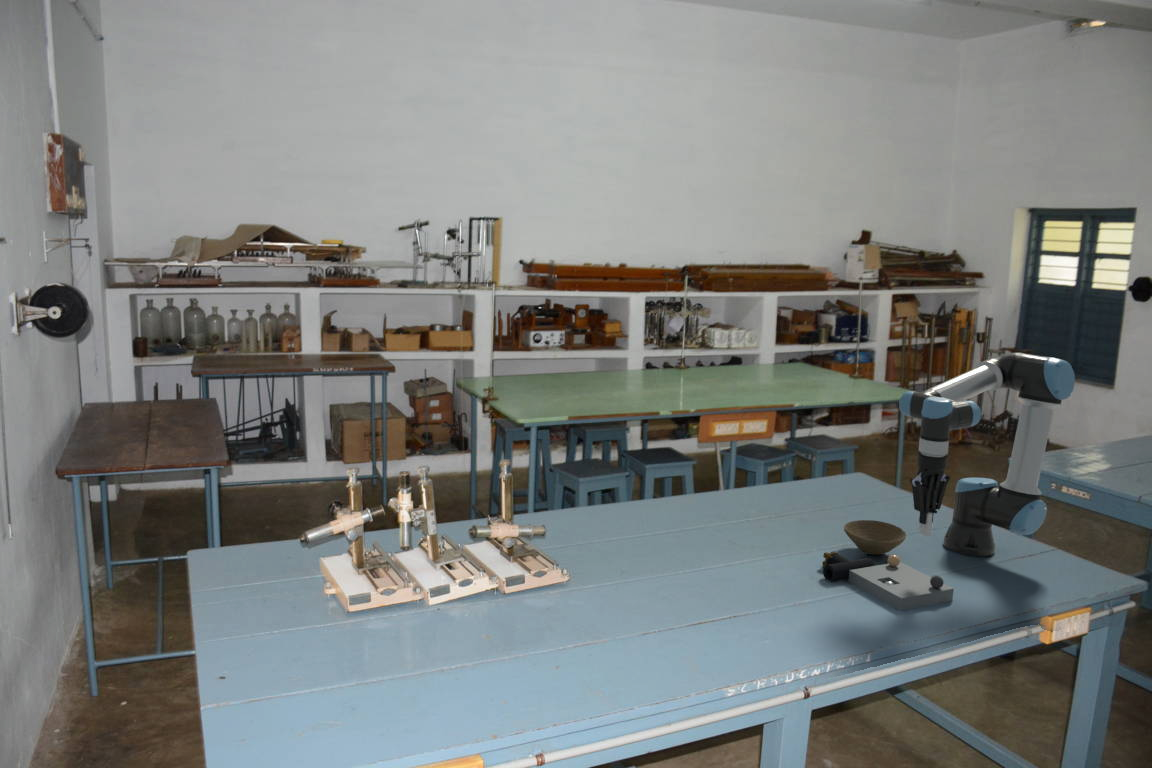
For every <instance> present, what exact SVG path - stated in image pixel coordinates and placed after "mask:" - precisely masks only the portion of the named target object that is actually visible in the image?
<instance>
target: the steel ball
mask: <svg viewBox="0 0 1152 768" xmlns="http://www.w3.org/2000/svg"><path fill="white" fill-rule="evenodd" d="M884 584H886V585H888V586H889V585H894V583H893V582H891V581H886V582H884Z"/></svg>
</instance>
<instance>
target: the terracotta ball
mask: <svg viewBox="0 0 1152 768" xmlns="http://www.w3.org/2000/svg"><path fill="white" fill-rule="evenodd" d="M900 562H901V560H900V557H899V556H897V555H896V554H891V555H889V556H888V557H887V564H889V565H890V566H892V567H896V566H898V565H899V563H900Z"/></svg>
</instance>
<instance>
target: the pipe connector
mask: <svg viewBox="0 0 1152 768" xmlns="http://www.w3.org/2000/svg"><path fill="white" fill-rule="evenodd" d="M823 558H824V559H825V560H822V565H821V566H823V569H822V571H823V572H822V573H823V577H824V579H825V580H826V581H828V582H830V583H835V582H842V581H846V580H847V581H848V580H849V570H853V569H859V568H865V567H871V566H876V564H875V563H874V561H873V559H871V558H870V557H869V558H861V559H854V560H849V559H848V558H846V557H844V556H842V554H840V553H838V552H836V551H830V553H829V552H828V551H827V552H823Z"/></svg>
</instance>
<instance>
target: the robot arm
mask: <svg viewBox="0 0 1152 768" xmlns="http://www.w3.org/2000/svg"><path fill="white" fill-rule="evenodd" d="M1075 377H1076V376H1075V371H1074V369H1073V368H1072V365H1071V364H1070V363H1069V362H1068V361H1067V360H1064V359H1061V358H1058V357H1057V358H1056V357H1054V356H1053V357H1051V356H1044V355H1043V356H1042V355H1037V354H1031V353H1024V352H1009V353H1004V354H1000V355H997V356H996V355H995V356H993V357H991V358H988V359H985V360H982V361H980V362H978V363H977V364H976V366H975V368H972V369H970V370H968V371H966V372H964V373H961V374H959V375H957V376H955V377H953V378H950V379H948V380H946V381H944V382H941V383H939V384H936V385H934V386H932V387H930V388H928V389H925V390H923V391H921V392H918V391H916V390H914V391H912V390H908V391H905V392H904V393H903V394H902V395H901V396H900V398H899V402H898V409H899V412H900V413H901V414H902V415H903V416H906V417H910V418H911V419H915V420H916V419H917V420H920V433H919V441H918V443H919V444H918V451H919V452H918V453H917V461H916V465H917V466H918V471H917V475H916V477H915V478H910V479H909V483H910V484H911V488H912V498H913V509H914V510H915V511H918V512H919V517H918V518H919V519H918V521H919V522H918V523H919V529H918V530H919V531H918V533H919V534H921V535H923V536H925V537H928V536H931V533H932V523H933V522H934V517H935V516H934V514H937V513H938V510H941V507H942V504H943V500H944V496H945V492H946V489H947V486H948V483H949V482H950V479H951V476H950V475H948V474H947V475H946V474H945V469H946V468H947V464H948V463H947V462H948V454H949V443H950V434H951V431H955V430H956V431H957V430H962V429H968V428H970V427H974V426H976V425H977V424H979V422H980V421H981V417H982V411H981V409H980V406H979V405H978V404H977V403H976V402H974V401H972V400H970V399H971V398H974V397H975V396H977V395H980V394H982V393H985V392H986V391H988V392H992V391H996V390H998V389H1004V390H1005V389H1006V390H1007V389H1008V390H1014V391H1017V392H1018V396H1017V398H1018V400H1019V401H1020V402H1021V408H1020V414H1019V417H1018V422H1017V427H1016V431H1015V437H1014V441H1013V446H1012V451H1011V456H1010V460H1009V463H1008V464H1009V465H1008V470H1007V473H1006V474H1007V475H1006V479H1005V480H1004V481H1002V482H1000V483H999V484H998V481H997V480H995V479H993V478H987V477H964V478H961V479H959V480H958V481H957V483H956V488H955V490H954V493H955V495H954V500H953V501H954V503H953V511H952V512H953V513H952V519H951V523H950V525H949V527H948V529H947V531H946V533H945V534H944V536H943V546H944V547H945V548H947V549H948V550H950V551H953V552H955V553H958V554H961V555H966V556H970V557H971V556H973V557H989V556H990V557H991V556H992V555H995V551H996V544H995V542H994V541H995V540H994V535H993V531H992V529H993V528H992V527H993V526H996V527H998V528H1001V529H1004V530H1007V531H1010V532H1011V533H1013V534H1014V533H1015V534H1019V535H1023V536H1029V535H1032V534H1033V533H1035V532H1036V531H1038V529H1039V528H1041V526H1042V525H1043V523H1044V522H1045V519H1046V517H1047V513H1048V512H1047V511H1048V508H1047V503H1045V501H1043V500H1042V499H1041V498H1042V491H1041V489H1039V486H1038V484H1039V481H1040V476H1041V472H1042V471H1041V470H1042V467H1043V463H1044V458H1045V452H1046V448H1047V443H1048V438H1049V435H1050V434H1049V433H1050V429H1051V425H1052V421H1053V420H1052V419H1053V415H1054V411H1055V409H1056V408H1058V407H1060V406H1061V405H1062V401H1063V400H1067V399H1069V397H1071V394H1072V393H1073V391H1074V389H1075V384H1076V383H1075V380H1076V378H1075ZM968 399H969V400H968Z"/></svg>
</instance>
